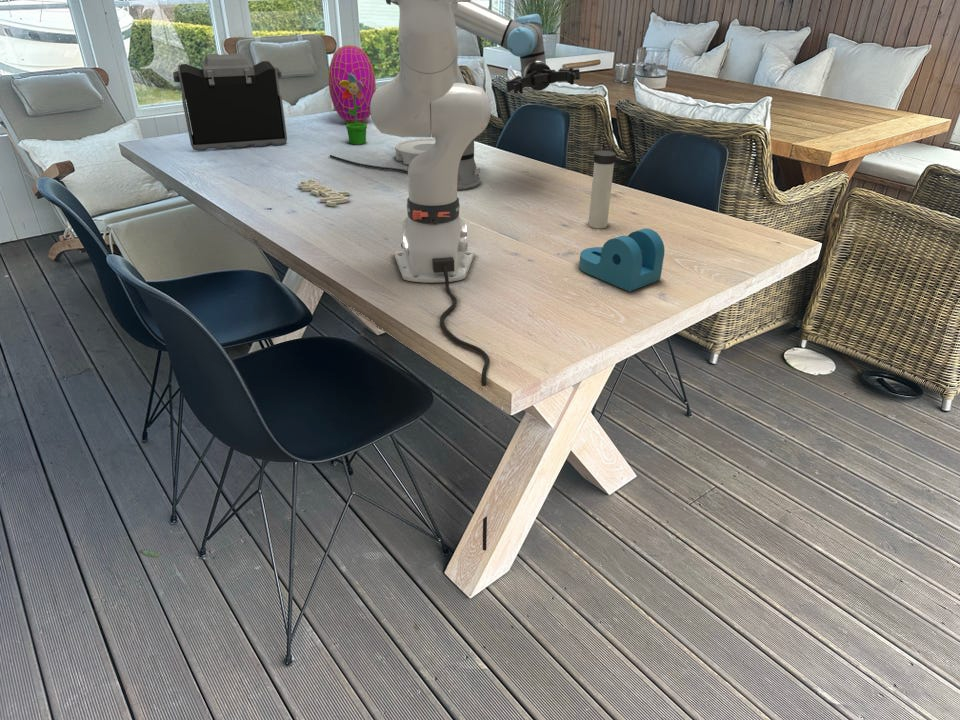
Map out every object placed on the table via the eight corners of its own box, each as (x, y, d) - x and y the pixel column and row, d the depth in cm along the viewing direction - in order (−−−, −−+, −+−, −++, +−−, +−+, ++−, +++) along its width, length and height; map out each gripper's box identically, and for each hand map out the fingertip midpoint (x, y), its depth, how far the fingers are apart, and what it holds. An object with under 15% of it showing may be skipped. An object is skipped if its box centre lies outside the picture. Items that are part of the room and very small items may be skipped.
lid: (615, 164, 173) (616, 156, 172) (593, 163, 174) (594, 155, 173) (614, 159, 178) (615, 151, 177) (593, 158, 179) (594, 150, 178)
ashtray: (454, 167, 232) (454, 155, 230) (388, 164, 235) (387, 152, 233) (466, 151, 252) (466, 140, 250) (404, 148, 255) (404, 137, 253)
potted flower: (342, 144, 260) (336, 73, 247) (351, 139, 266) (346, 70, 254) (365, 146, 257) (360, 74, 245) (374, 141, 264) (369, 71, 251)
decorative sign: (361, 197, 199) (330, 204, 194) (361, 201, 200) (330, 207, 195) (320, 177, 217) (291, 182, 212) (321, 180, 218) (291, 185, 213)
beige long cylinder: (607, 228, 182) (615, 157, 173) (588, 227, 183) (595, 157, 173) (606, 222, 187) (614, 153, 177) (588, 221, 187) (594, 152, 178)
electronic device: (284, 132, 276) (273, 51, 260) (292, 144, 258) (281, 58, 243) (187, 139, 264) (169, 54, 249) (188, 152, 246) (169, 62, 231)
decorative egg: (362, 116, 305) (357, 42, 290) (386, 123, 292) (382, 46, 277) (324, 121, 294) (316, 45, 279) (347, 129, 281) (340, 49, 266)
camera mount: (660, 279, 153) (667, 234, 148) (629, 291, 148) (635, 245, 142) (600, 255, 165) (604, 213, 160) (569, 265, 160) (573, 222, 154)
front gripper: (383, -44, 156) (386, 24, 163) (473, -43, 157) (472, 24, 164) (385, -44, 161) (388, 21, 168) (471, -43, 162) (471, 22, 169)
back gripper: (581, 81, 201) (594, 90, 182) (497, 96, 202) (501, 106, 183) (579, 53, 197) (592, 59, 179) (493, 69, 198) (497, 76, 180)
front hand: (430, 23), depth 166 cm, fingers open, 8 cm apart
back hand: (546, 83), depth 181 cm, fingers open, 13 cm apart
